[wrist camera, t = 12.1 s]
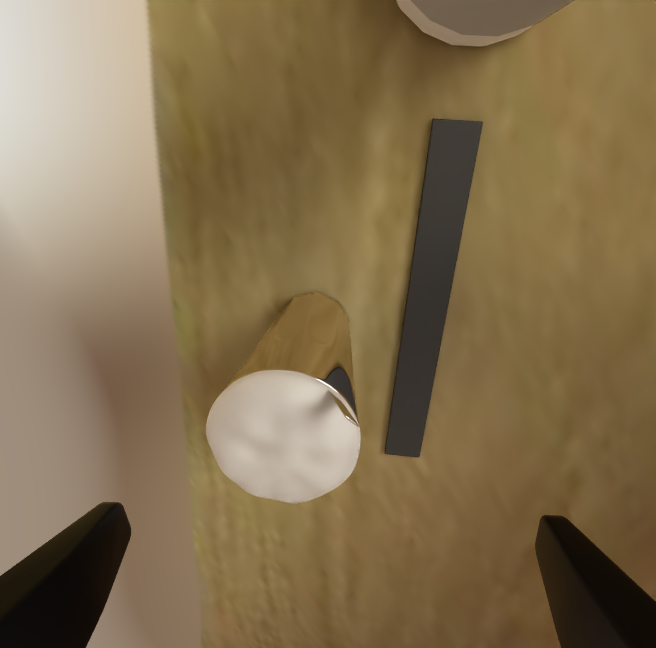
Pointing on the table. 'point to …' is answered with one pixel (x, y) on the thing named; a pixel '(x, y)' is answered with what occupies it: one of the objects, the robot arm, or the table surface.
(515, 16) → the spray bottle
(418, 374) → the tape line
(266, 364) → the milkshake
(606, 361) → the table surface
